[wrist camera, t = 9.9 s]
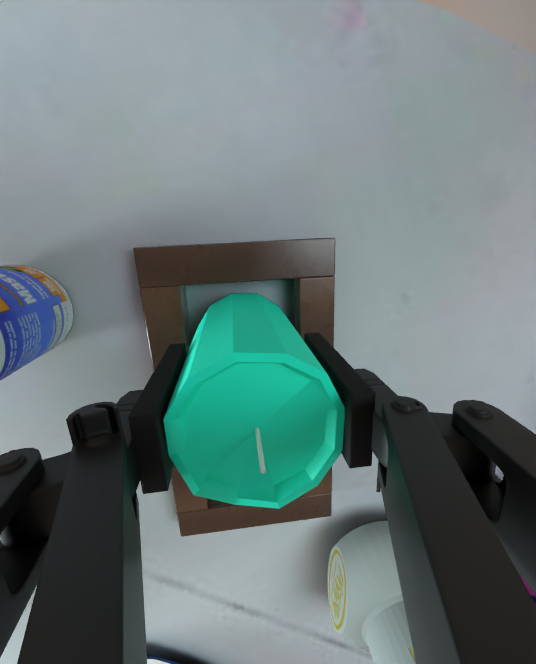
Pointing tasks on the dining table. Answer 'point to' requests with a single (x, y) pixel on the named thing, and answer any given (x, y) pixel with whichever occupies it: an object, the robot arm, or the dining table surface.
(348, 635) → the air freshener
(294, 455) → the candle
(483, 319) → the dining table surface
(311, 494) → the holder
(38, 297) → the pill bottle
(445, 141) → the dining table surface
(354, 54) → the dining table surface
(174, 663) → the plate
